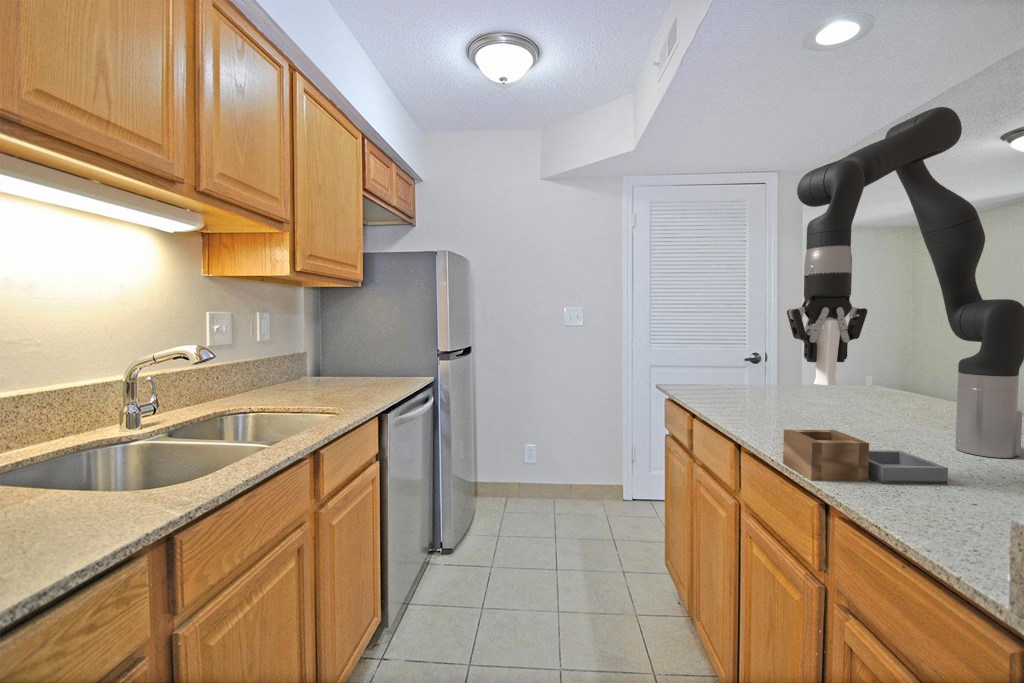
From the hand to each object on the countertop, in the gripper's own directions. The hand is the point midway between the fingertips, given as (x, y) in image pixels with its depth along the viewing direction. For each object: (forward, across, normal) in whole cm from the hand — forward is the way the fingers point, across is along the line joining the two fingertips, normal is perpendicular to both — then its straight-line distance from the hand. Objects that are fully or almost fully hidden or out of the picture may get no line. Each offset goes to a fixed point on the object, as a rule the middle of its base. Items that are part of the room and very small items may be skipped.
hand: (825, 361), depth 90 cm
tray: (+21, -12, +1) cm, 25 cm away
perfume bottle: (+5, 0, 0) cm, 5 cm away
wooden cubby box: (+21, 0, 0) cm, 21 cm away
